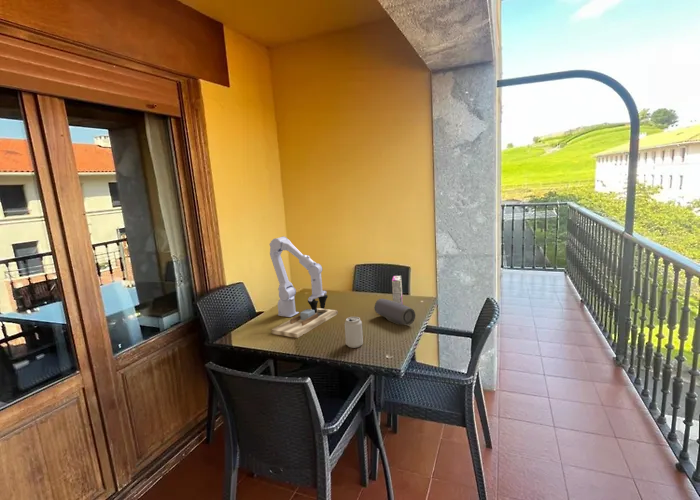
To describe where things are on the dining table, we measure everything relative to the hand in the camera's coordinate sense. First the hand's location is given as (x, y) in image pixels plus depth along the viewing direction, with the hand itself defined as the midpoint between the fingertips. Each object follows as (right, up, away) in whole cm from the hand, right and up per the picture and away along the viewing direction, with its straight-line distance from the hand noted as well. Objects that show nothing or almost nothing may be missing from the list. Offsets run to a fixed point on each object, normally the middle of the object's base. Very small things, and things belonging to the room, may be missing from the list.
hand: (318, 310), depth 198 cm
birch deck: (-6, -5, -9) cm, 12 cm away
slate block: (-5, -3, -8) cm, 10 cm away
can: (+19, -9, -41) cm, 46 cm away
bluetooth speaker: (+40, -3, -15) cm, 43 cm away
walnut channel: (-6, -3, -11) cm, 13 cm away
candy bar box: (+45, +1, +10) cm, 46 cm away
